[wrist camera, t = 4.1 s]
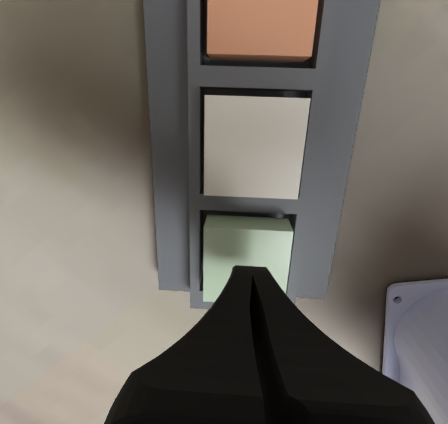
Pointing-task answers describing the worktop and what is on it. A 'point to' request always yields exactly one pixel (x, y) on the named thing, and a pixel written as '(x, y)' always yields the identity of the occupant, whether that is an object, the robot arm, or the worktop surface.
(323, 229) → the button panel
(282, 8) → the terracotta button
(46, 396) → the worktop surface
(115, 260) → the worktop surface
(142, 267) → the worktop surface
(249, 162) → the cream button
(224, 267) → the green button
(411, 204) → the worktop surface
